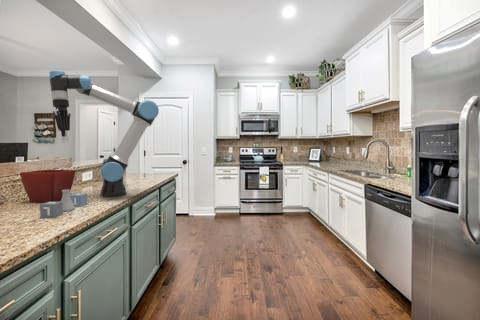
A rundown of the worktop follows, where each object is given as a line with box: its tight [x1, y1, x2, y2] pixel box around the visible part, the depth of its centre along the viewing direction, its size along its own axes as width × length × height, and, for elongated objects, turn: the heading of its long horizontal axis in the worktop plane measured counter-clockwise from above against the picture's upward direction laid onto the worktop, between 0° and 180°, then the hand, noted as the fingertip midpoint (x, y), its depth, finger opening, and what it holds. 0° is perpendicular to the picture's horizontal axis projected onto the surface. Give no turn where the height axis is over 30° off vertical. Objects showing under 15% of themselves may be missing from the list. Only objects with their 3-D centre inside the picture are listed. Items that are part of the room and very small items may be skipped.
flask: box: [60, 190, 76, 212], centre depth 131 cm, size 7×7×10 cm
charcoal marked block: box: [39, 201, 64, 219], centre depth 120 cm, size 6×6×6 cm
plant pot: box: [19, 169, 76, 203], centre depth 154 cm, size 19×19×17 cm
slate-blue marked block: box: [70, 192, 88, 208], centre depth 142 cm, size 6×6×6 cm
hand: (65, 142), depth 150 cm, fingers closed
